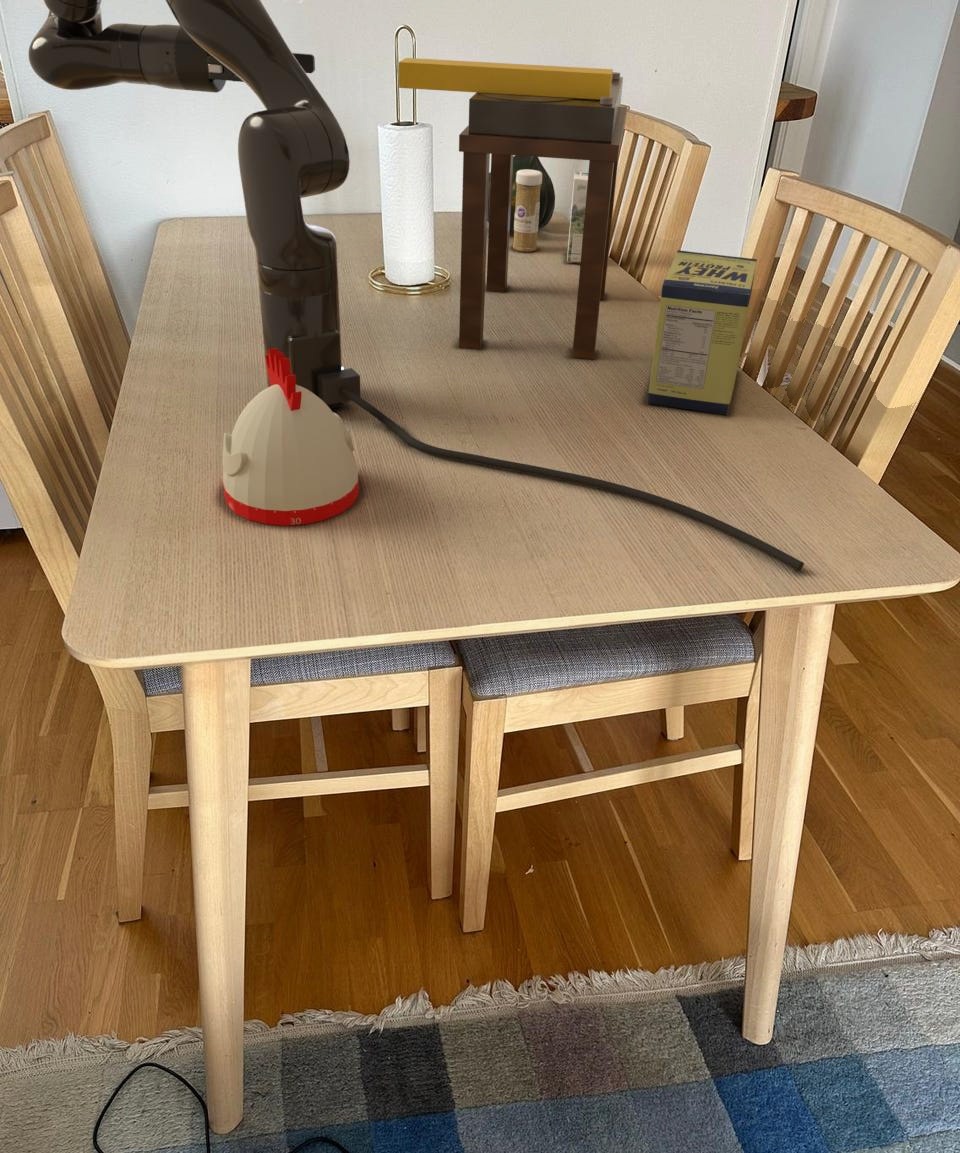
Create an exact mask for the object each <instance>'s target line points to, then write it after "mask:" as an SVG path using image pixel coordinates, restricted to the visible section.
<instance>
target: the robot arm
mask: <svg viewBox="0 0 960 1153" xmlns="http://www.w3.org/2000/svg"><path fill="white" fill-rule="evenodd" d="M43 2H44V5H45V6H46V8H47V9H48V10H49V11H48V14H47V18H46V20H45V21H44V23H43V24H42V25H41V27H40V29H39V30H38V31H37V33H36V34H35V35H34V37H33V38H32V40H31V42H30V44H29V46H28V47H29V48H28V61H29V65H30V66H31V69H32V70H33V72H34V73H35V74H36V76H38V77H39V78H40V79H41V80H42V81H43V82H45V83H47V84H48V85H51V86H52V87H56V88H59V89H63V90H69V91H80V90H81V91H82V90H89V89H95V88H101V87H107V86H112V85H116V84H122V83H124V84H125V83H127V84H132V85H133V84H134V85H144V86H145V85H147V86H154V87H155V86H156V87H161V88H164V89H169V90H181V91H192V92H205V93H214V94H215V93H217V94H218V93H219V92H221V91H222V90H223V89H224V87H225V85H226V82H227V81H230V82H239V83H240V82H242V83H245V85H247V86H248V87H249V88H250V90H252V92H253V93H254V94H255V95H256V97H257V98H258V99H259V100H260V102H261V103H262V105H263V107H264V108H265V109H263V110H259V111H254V112H252V113H250V114H249V115H248V116H246V117H245V118H244V120H243V122H242V124H241V126H240V129H239V131H238V132H239V133H238V140H237V156H238V157H237V159H238V167H239V168H238V169H239V175H240V181H241V189H242V195H243V203H244V209H245V216H246V224H247V229H248V232H249V235H250V238H251V240H252V244H253V245H254V249H255V250H254V251H255V258H256V259H255V260H256V265H257V266H256V268H257V279H258V280H257V281H258V291H259V304H260V316H261V327H262V338H263V348H264V349H263V350H264V356H265V355H269V349H273V348H278V352H279V353H284V357H285V358H289V361H290V369H291V375H294V374H295V375H296V385H298V386H301V387H303V388H306V389H307V390H309V391H311V392H312V393H313V394H315V395H316V396H317V397H319V398H320V399H321V400H322V401H323V402H324V403H325V404H326V405H327V406H328V407H329V408H330V409H331V410H333V409H336V408H341V407H343V406H344V403H345V402H350V401H351V402H353V403H354V404H355V405H357V406H358V407H360V408H362V409H363V410H364V411H365V412H366V413H369V414H370V415H371V416H372V417H374V418H375V419H376V420H378V421H379V422H380V423H381V424H383V425H384V426H386V427H387V428H389V430H391V431H392V432H393V433H395V434H396V436H398V437H399V438H400V439H401V440H402V441H403V442H404V443H406V444H407V445H409V446H411V447H412V448H415V449H417V450H419V451H421V452H425V453H427V454H430V455H434V456H438V457H440V458H441V457H442V458H446V459H451V460H457V461H463V462H468V463H474V464H478V465H484V466H489V467H493V468H499V469H503V470H508V471H514V472H515V471H516V472H519V473H520V472H521V473H526V474H531V475H536V476H542V477H546V478H551V479H556V480H561V481H566V482H570V483H575V484H581V485H584V486H589V487H593V488H597V489H601V490H605V491H608V492H609V491H610V492H613V493H616V494H621V495H624V496H627V497H631V498H634V499H638V500H641V501H645V502H648V503H652V504H653V505H657V506H659V507H662V508H665V509H668V510H671V511H674V512H676V513H679V514H681V515H684V516H686V517H689V518H692V519H694V520H696V521H699V522H701V523H703V524H705V525H708V526H709V527H712V528H714V529H716V530H718V531H720V532H722V533H725V534H727V535H729V536H731V537H734V538H735V539H737V540H740V541H742V542H743V543H746V544H747V545H749V546H751V547H754V548H755V549H757V550H759V551H761V552H763V553H765V554H767V555H768V556H770V557H772V558H774V559H776V560H778V561H780V562H782V563H783V564H785V565H787V566H789V567H791V568H792V569H795V570H796V571H799V572H800V571H801V570H802V569H803V568H804V565H805V563H804V562H803V561H801V560H800V559H797V558H795V556H792V555H790V554H788V553H786V552H784V551H783V550H781V549H779V548H777V547H776V546H773V545H772V544H769V543H767V542H765V541H763V540H761V539H759V538H757V537H756V536H754V535H751V534H749V533H747V532H745V531H743V530H741V529H739V528H737V527H735V526H733V525H731V524H728V523H726V522H724V521H722V520H720V519H717V518H716V517H713V516H711V515H708V514H707V513H704V512H702V511H699V510H698V509H695V508H692V507H689V506H687V505H684V504H682V503H679V502H677V501H674V500H671V499H668V498H665V497H662V496H659V495H658V494H657V495H656V494H653V493H650V492H647V491H645V490H640V489H637V488H633V487H630V486H626V485H622V484H619V483H615V482H611V481H607V480H604V479H600V478H595V477H591V476H587V475H582V474H577V473H572V472H567V471H564V470H563V471H562V470H558V469H552V468H548V467H542V466H537V465H532V464H527V463H522V462H517V461H511V460H504V459H499V458H494V457H489V456H485V455H484V456H483V455H479V454H473V453H468V452H462V451H457V450H451V449H448V448H447V449H446V448H443V447H442V448H441V447H438V446H435V445H432V444H428V443H426V442H423V441H420V440H418V439H416V438H414V437H413V436H411V434H409V433H407V432H406V431H405V430H404V429H403V428H402V427H401V426H400V425H398V423H396V422H395V421H394V420H392V419H391V418H390V417H389V416H387V415H385V414H384V413H383V412H381V410H379V409H378V408H377V407H375V406H374V405H372V404H371V403H370V402H368V401H367V400H365V399H364V398H362V395H361V394H362V393H361V375H360V374H359V373H358V372H357V371H356V370H354V369H353V368H352V367H350V368H345V369H344V366H343V358H342V333H341V314H340V311H341V310H340V292H339V289H340V288H339V268H338V246H337V238H336V236H335V235H334V233H333V232H332V231H330V230H329V229H327V228H325V227H322V226H318V225H314V224H311V223H307V222H306V221H305V216H304V211H303V205H302V199H304V198H307V197H313V196H317V195H321V194H326V193H329V192H332V191H334V190H337V189H338V188H340V187H341V186H342V185H344V183H345V182H346V180H347V179H348V176H349V171H350V166H351V165H350V164H351V158H350V157H351V156H350V150H349V145H348V141H347V139H346V136H345V134H344V131H343V128H342V126H341V125H340V122H339V120H338V119H337V117H336V116H335V113H334V112H333V111H332V109H331V107H330V106H329V104H328V103H327V102H326V100H325V98H324V97H323V96H322V94H321V92H320V91H319V90H318V89H317V88H316V86H315V84H314V83H313V81H312V80H311V79H310V77H309V75H308V74H313V73H314V72H315V70H316V59H315V56H314V54H311V53H302V52H301V53H300V52H292V50H291V49H290V47H289V45H288V44H287V42H286V41H285V39H284V36H282V33H281V32H280V30H279V28H278V27H277V26H276V24H275V21H274V20H273V18H272V16H271V15H270V13H269V12H268V10H267V8H266V6H265V5H264V3H263V1H262V0H165V2H166V4H167V6H168V8H169V10H170V11H171V13H172V15H173V16H174V18H175V20H176V22H177V23H178V24H166V23H165V24H137V23H123V22H122V23H120V22H119V23H111V24H109V25H107V27H105V28H104V29H103V17H102V9H101V8H102V7H101V4H102V0H43ZM264 362H265V364H266V361H265V360H264ZM265 371H266V384H267V388H268V387H270V386H271V385H270V380H269V376H268V371H267V366H266V365H265Z"/></svg>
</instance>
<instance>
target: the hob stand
mask: <svg viewBox="0 0 960 1153" xmlns="http://www.w3.org/2000/svg"><path fill="white" fill-rule="evenodd" d="M623 82H624V77H623V76H621V72H617V71H613V73H612V84H611V95H610V96H601V97H600V100H596V99H579V98H562V97H545V96H528V95H511V94H494V93H477V92H474V93H473V95H472V96H471V97H470V98H469V100H468V124H467V126H466V127H465V128H464V129H463V130H461V132H460V133H459V135H458V152H460V153H462V154H463V155H462V195H461V196H462V197H461V198H462V199H461V241H460V280H459V281H460V282H459V288H460V289H459V327H458V328H459V329H458V348H460V349H469V350H470V349H471V350H481V347H482V345H483V343H484V326H485V301H486V300H485V298H486V296H485V295H486V291H487V292H499V293H505V292H506V290H507V288H508V269H509V251H510V250H509V249H510V233H509V232H510V212H511V191H512V171H513V156H515V155H518V156H532V157H538V158H547V159H549V158H550V159H564V160H578V161H588V162H589V163H588V171H587V172H588V183H587V194H586V206H585V217H584V228H583V240H582V251H581V262H580V264H579V276H578V287H577V295H576V296H577V298H576V307H575V319H574V333H573V342H572V344H573V345H572V356H571V358H572V359H573V358H574V359H584V360H594V359H595V353H596V344H597V334H598V327H599V326H598V324H599V315H600V305H601V301H604V298H605V292H606V282H607V272H608V262H609V253H610V245H611V244H610V242H611V233H612V224H613V214H614V205H615V197H616V196H615V195H616V186H617V176H618V165H619V157H620V151H621V147H622V141H623V136H624V132H625V127H626V122H627V121H626V120H627V114H628V106H621V103H622V93H623ZM490 155H491V156H490ZM490 172H491V177H490V204H489V222H487V219H488V191H489V173H490Z"/></svg>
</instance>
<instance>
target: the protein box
mask: <svg viewBox="0 0 960 1153" xmlns="http://www.w3.org/2000/svg"><path fill="white" fill-rule="evenodd" d="M757 260H758V259H757V258H750V257H749V258H748V257H741V256H730V255H723V254H716V253H715V254H713V253H704V252H695V251H687V250H681V249H678V250H677V251H676V254H675V255H674V258H673V260H672V262H671V264H670V266H669V269H668V271H667V274H666V276H665V277H664V280H663V283H662V285H661V294H660V300H659V301H660V302H659V303H660V304H659V310H658V318H657V326H656V333H655V342H654V349H653V355H652V361H651V370H650V379H649V385H648V393H647V401H646V403H647V404H649V405H655V406H663V407H671V408H676V409H684V410H692V411H697V412H706V413H713V414H719V415H725V416H728V415H729V411H730V406H731V402H732V398H733V393H734V389H735V385H736V384H735V383H736V378H737V375H738V374H737V373H738V368H739V365H740V358H741V353H742V347H743V342H744V336H745V332H746V326H747V320H748V316H749V310H750V305H751V299H752V293H753V286H754V280H755V272H756V266H757Z"/></svg>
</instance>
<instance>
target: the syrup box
mask: <svg viewBox="0 0 960 1153" xmlns="http://www.w3.org/2000/svg"><path fill="white" fill-rule="evenodd" d="M588 172H589V171H574V173H573V184H572V192H571V193H572V194H571V206H570V218H569V221H570V222H569V228H568V229H569V230H568V242H567V256H566V263H568V264H579V265H580V262H581V251H582V240H583V228H584V217H585V206H586V194H587V183H588Z"/></svg>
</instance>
